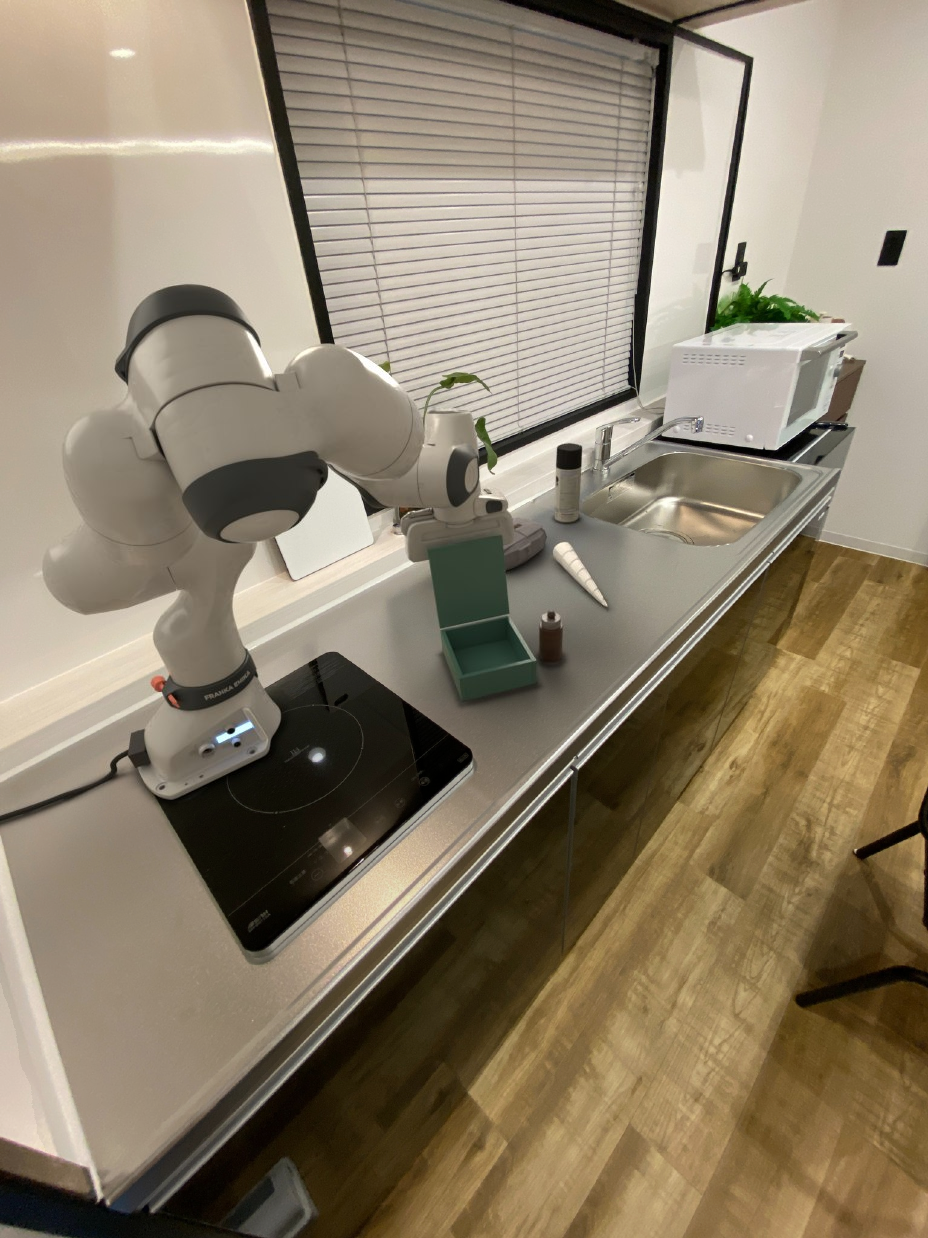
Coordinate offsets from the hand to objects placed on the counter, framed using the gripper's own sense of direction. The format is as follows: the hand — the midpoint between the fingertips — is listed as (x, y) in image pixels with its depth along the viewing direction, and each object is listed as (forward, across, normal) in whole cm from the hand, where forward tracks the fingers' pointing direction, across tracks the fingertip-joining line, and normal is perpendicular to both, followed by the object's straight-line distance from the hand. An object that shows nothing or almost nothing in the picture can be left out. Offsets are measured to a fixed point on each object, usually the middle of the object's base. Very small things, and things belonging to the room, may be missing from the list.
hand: (462, 571), depth 102 cm
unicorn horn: (+14, +29, +9) cm, 34 cm away
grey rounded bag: (+14, +19, +27) cm, 36 cm away
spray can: (+14, +40, +41) cm, 59 cm away
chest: (+13, 0, -14) cm, 19 cm away
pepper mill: (+13, +12, -15) cm, 23 cm away
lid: (0, 0, -5) cm, 5 cm away
